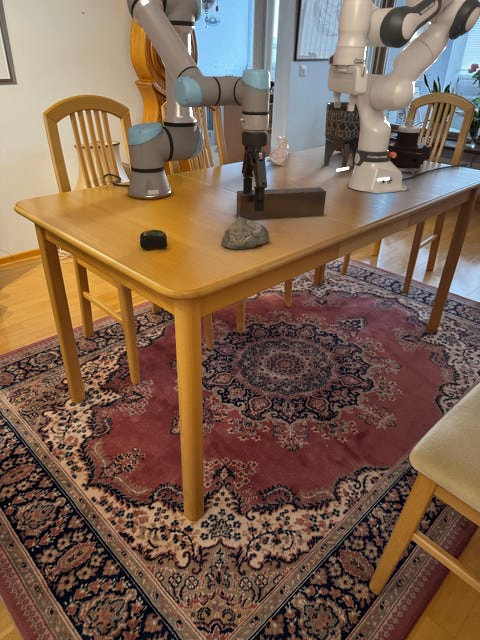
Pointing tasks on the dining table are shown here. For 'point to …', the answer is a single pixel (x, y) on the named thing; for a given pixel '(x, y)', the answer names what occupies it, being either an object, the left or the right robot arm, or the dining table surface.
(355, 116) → the planter
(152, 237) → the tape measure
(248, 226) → the rock
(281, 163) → the figurine
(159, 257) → the dining table surface
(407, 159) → the mechanical component
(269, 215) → the bar
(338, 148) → the toy
